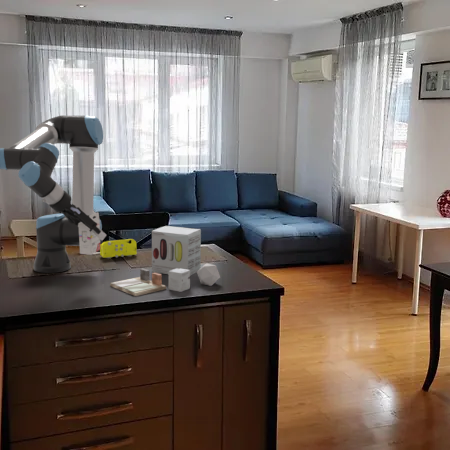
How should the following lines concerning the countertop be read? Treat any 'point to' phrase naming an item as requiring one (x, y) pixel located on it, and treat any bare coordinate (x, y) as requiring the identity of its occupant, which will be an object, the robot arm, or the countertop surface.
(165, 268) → the supplement box
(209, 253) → the countertop surface
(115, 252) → the yellow toy chassis
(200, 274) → the die
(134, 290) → the docking board
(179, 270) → the skincare box
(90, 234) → the ink cartridge box
